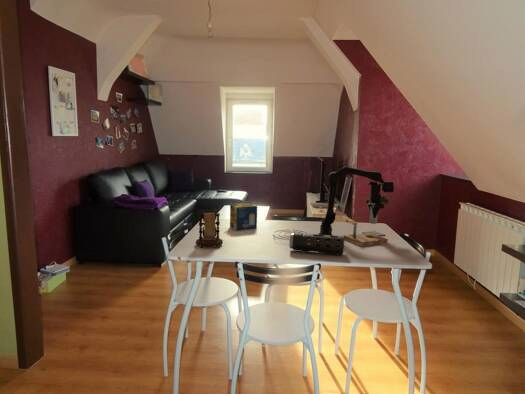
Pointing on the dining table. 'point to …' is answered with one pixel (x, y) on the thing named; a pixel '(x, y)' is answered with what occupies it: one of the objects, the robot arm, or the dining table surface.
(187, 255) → the dining table surface
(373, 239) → the socket base
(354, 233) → the bar
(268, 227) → the dining table surface
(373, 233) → the rubber mat
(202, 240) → the wooden hourglass
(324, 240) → the muzzle brake
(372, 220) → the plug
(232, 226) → the protein box
